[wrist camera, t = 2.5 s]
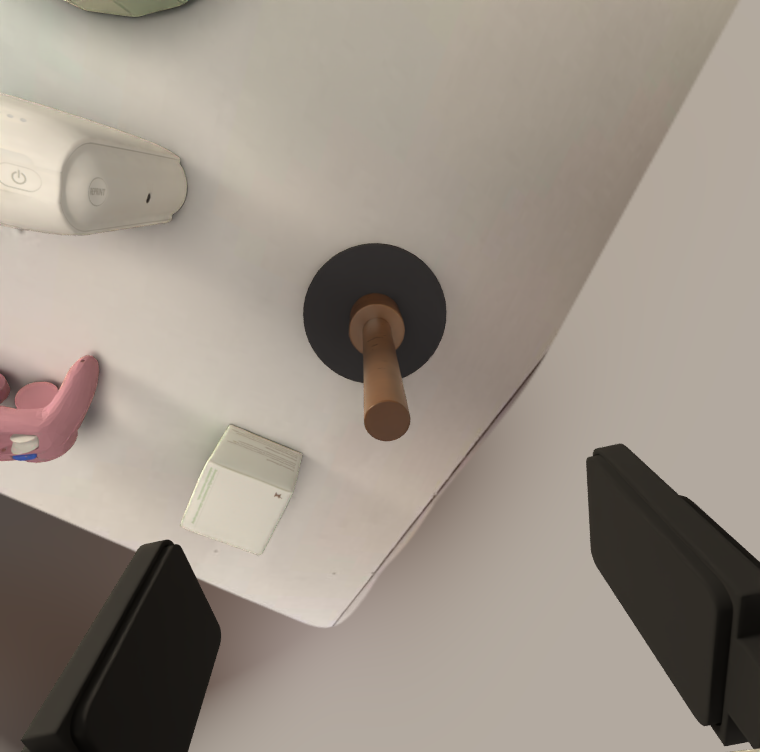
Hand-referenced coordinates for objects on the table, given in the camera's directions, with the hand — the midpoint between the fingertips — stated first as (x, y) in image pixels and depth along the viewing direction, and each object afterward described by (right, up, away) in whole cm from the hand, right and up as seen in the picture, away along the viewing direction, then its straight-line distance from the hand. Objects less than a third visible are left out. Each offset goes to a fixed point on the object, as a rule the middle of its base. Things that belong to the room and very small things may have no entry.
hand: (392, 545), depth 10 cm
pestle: (-1, +7, +18) cm, 20 cm away
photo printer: (-16, +16, +15) cm, 27 cm away
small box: (-9, -3, +23) cm, 25 cm away
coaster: (-1, +8, +19) cm, 20 cm away
